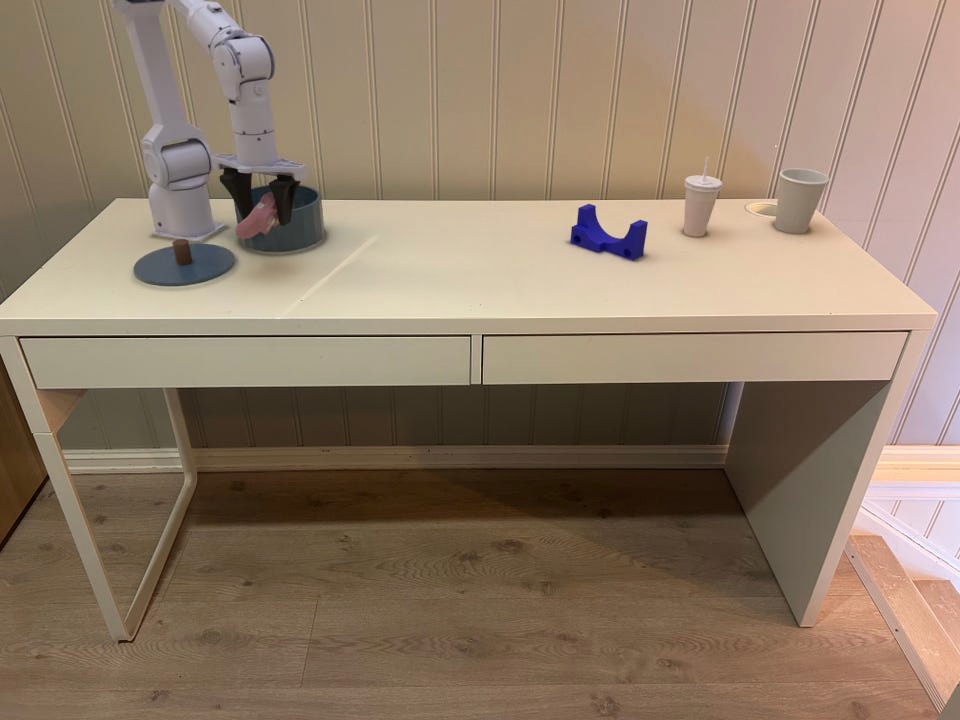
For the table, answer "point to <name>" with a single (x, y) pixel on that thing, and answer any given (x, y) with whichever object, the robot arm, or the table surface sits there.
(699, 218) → the smoothie
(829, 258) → the table surface
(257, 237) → the tin
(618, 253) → the blue cradle bracket
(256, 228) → the pink curved piece
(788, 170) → the dixie cup
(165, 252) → the lid
